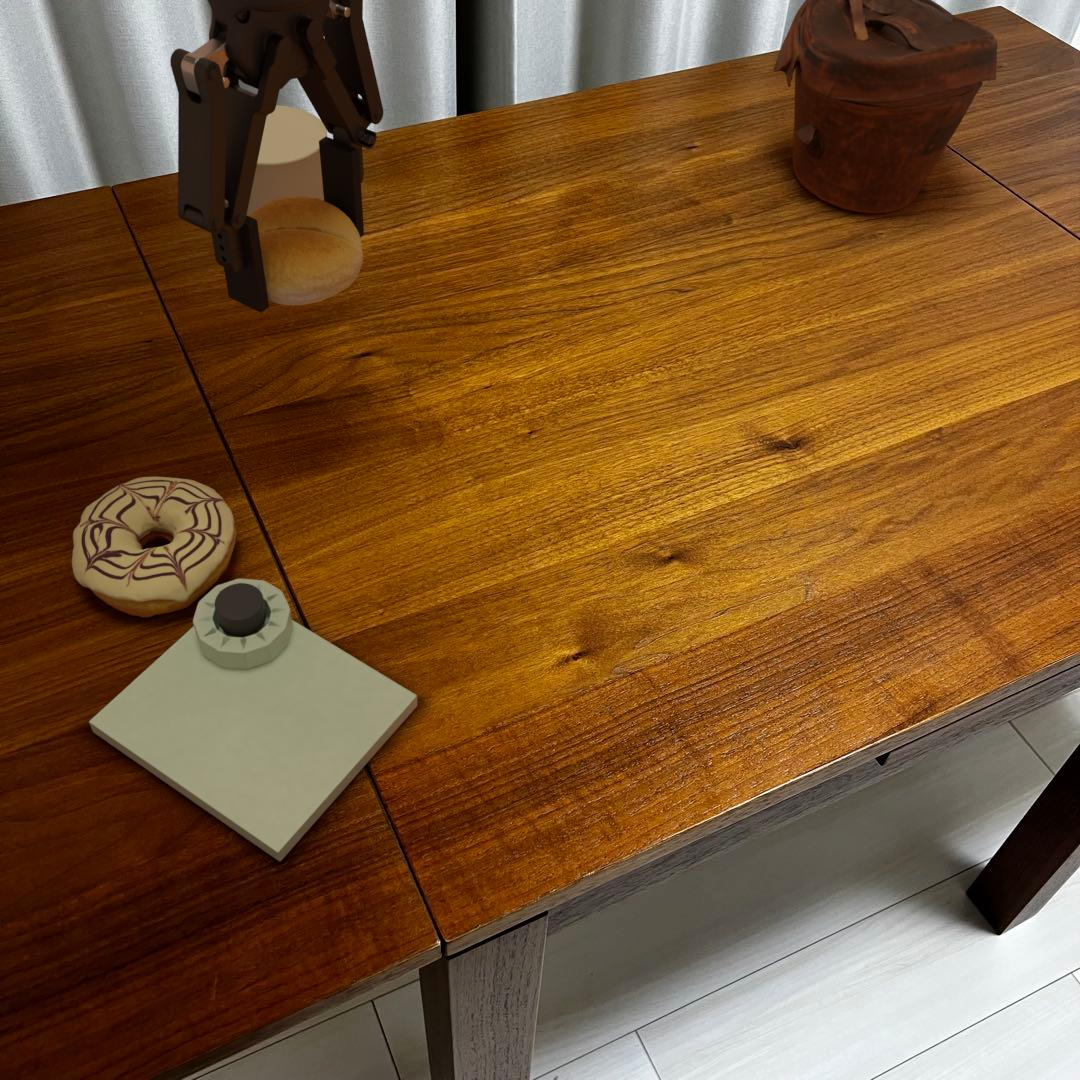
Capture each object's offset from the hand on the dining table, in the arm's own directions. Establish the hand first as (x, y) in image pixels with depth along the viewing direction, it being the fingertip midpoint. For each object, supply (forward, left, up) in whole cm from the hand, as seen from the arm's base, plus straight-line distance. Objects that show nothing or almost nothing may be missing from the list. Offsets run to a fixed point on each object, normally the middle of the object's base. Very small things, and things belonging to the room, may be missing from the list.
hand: (298, 265), depth 80 cm
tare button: (+9, -18, -13) cm, 24 cm away
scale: (+14, -22, -16) cm, 30 cm away
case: (+19, +60, -16) cm, 65 cm away
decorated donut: (0, -16, -16) cm, 23 cm away
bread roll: (0, 0, -1) cm, 1 cm away
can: (-17, +16, -16) cm, 29 cm away
